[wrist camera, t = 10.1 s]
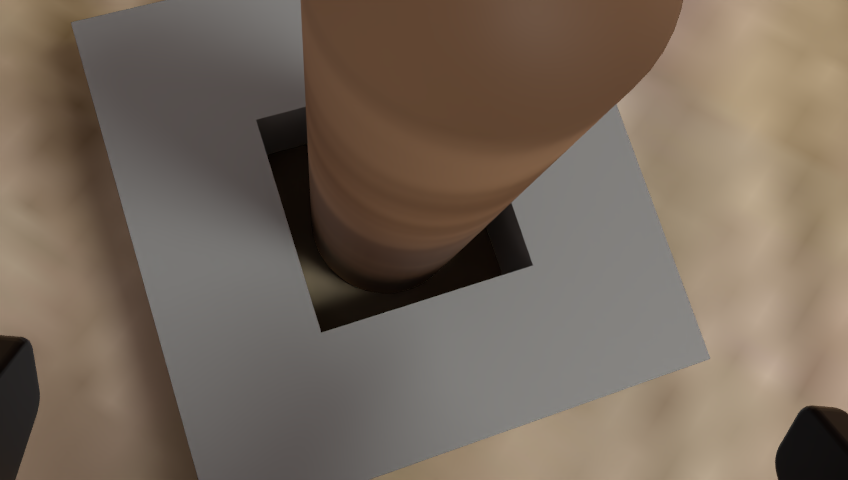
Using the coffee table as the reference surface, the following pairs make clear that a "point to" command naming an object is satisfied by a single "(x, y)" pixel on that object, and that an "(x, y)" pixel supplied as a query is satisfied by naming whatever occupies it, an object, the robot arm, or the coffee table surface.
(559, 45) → the tall walnut pin
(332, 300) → the coffee table surface
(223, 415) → the slate collar block
